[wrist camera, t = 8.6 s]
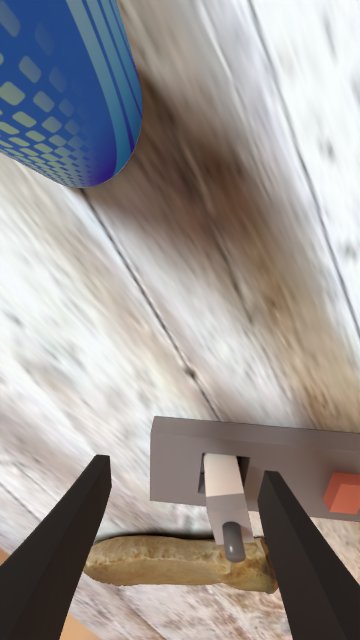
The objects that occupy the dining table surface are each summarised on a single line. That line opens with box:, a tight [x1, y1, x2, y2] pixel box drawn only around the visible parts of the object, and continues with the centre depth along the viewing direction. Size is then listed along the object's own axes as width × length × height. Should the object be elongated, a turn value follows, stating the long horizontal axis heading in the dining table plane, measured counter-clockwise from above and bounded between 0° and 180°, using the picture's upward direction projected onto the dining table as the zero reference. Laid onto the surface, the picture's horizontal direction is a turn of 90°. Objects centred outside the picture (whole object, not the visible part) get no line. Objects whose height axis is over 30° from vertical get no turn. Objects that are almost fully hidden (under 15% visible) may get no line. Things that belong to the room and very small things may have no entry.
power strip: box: [150, 416, 360, 522], centre depth 20 cm, size 22×9×3 cm, turn 87°
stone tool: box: [83, 535, 279, 594], centre depth 25 cm, size 12×4×25 cm
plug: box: [204, 453, 254, 563], centre depth 18 cm, size 3×4×8 cm
